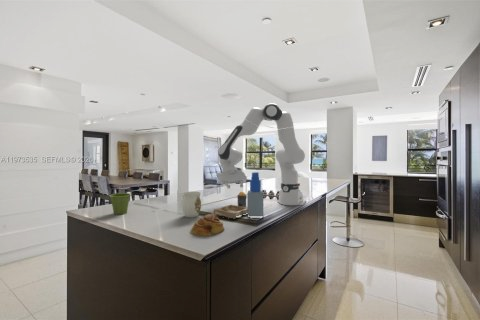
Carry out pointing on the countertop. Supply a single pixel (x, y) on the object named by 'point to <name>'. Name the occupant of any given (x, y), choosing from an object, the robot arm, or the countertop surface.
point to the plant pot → (120, 202)
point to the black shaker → (241, 201)
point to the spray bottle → (255, 196)
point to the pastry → (207, 226)
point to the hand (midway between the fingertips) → (235, 187)
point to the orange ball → (241, 194)
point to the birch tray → (231, 210)
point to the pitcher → (191, 204)
